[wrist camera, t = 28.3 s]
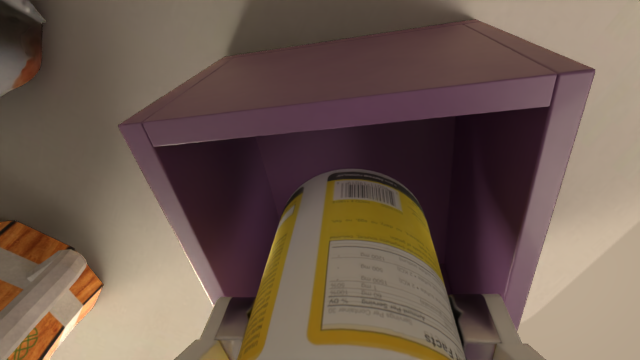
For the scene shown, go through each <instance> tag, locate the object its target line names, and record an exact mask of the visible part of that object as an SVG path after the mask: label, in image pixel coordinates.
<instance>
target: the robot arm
mask: <svg viewBox="0 0 640 360" xmlns="http://www.w3.org/2000/svg"><path fill="white" fill-rule="evenodd" d="M448 298H449V302H450V305H451V309H452V312H453V316H454V319H455V323H456V326H457V330H458V333H459V337H460V340H461V344H462V347H463V351H464V355H465V358H466V360H546V359H545V358H543V357H542V356H541V355H540V354H539V353H538V352H536V351H535V350H534V349H533V348H532V347H531V346H529V345H528V344H522V342H521V340H520V337H519V335H518V333H517V331H516V328H515V326H514V324H513V322H512V319H511V317H510V315H509V313H508V310H507V308H506V306H505V304H504V301H503V299H502V297H501V296H500V295H499V294H450V295H449V296H448ZM255 299H256V297H220V298H219V299H218V300H217V301H216V303H215V305H214V308H213V310H212V312H211V314H210V317H209V319H208V321H207V324H206V326H205V328H204V331H203V333H202V335H201V337H200V340H195V341H194V342H193V343H192V344H191V345H189V346H188V347H187V348H186V349H185V350H184V351H183V352H182V353H181V354H180V355H179V356H178V357H176V358H175V359H174V360H237V358H238V355H239V352H240V349H241V345H242V342H243V339H244V336H245V332H246V329H247V326H248V322H249V319H250V316H251V313H252V309H253V306H254V303H255Z"/></svg>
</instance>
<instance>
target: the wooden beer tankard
mask: <svg viewBox="0 0 640 360" xmlns="http://www.w3.org/2000/svg"><path fill="white" fill-rule="evenodd" d="M102 287H103V283H102V282H101V281H100V280H99V278H98V277H97V276H96V275H95V274H94V272H93V271H92V270H91V269H90V267H89V266H88V265H87V261H86V260H85V258H84V257H83V256H82V255H81V254H80V253H78V252H77V251H76V250H75V249H74V248H73V247H71V246H69V245H66V244H64V243H62V242H60V241H58V240H56V239H54V238H51V237H49V236H47V235H45V234H43V233H41V232H39V231H36V230H34V229H32V228H30V227H28V226H26V225H24V224H21V223H19V222H17V221H4V222H0V360H49V359H50V358H51V357H52V355H53V354H54V352H55V351H56V349H57V348H58V347H59V345H60V344H61V343H62V342H63V340H64V339H65V338H66V337H67V335H68V334H69V333H70V332H71V330H72V329H73V328H74V327H75V326H76V325H77V324H78V323H79V322H80V321H81V320H82V319H83V318H84V317H85V316H86V315H87V314H88V313H89V311H90V310H91V309H92V308H93V307H94V305H95V302H96V300H97V298H98V296H99V294H100V292H101V289H102Z"/></svg>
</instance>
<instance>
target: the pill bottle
mask: <svg viewBox="0 0 640 360" xmlns="http://www.w3.org/2000/svg"><path fill="white" fill-rule="evenodd" d="M237 360H466V358H465V355H464V351H463V347H462V344H461V340H460V337H459V333H458V330H457V326H456V323H455V319H454V316H453V312H452V309H451V305H450V302H449V298H448V295H447V291H446V288H445V284H444V281H443V277H442V273H441V270H440V266H439V263H438V259H437V256H436V252H435V249H434V246H433V242H432V239H431V235H430V231H429V228H428V224H427V221H426V218H425V215H424V212H423V210H422V207H421V206H420V204H419V202H418V201H417V199H416V198H415V196H414V195H413V194H412V193H411V192H410V191H409V190H408V189H407V188H406V187H405V186H404V185H402V184H401V183H399V182H398V181H396V180H395V179H393V178H391V177H389V176H386V175H384V174H381V173H378V172H374V171H370V170H364V169H339V170H333V171H329V172H326V173H323V174H320V175H318V176H315V177H313V178H312V179H310V180H308V181H307V182H305V183H304V184H302V185H301V186H300V187H299V188H298V189H297V190H296V191H295V192H294V193H293V194H292V196H291V197H290V198H289V200H288V202H287V204H286V206H285V208H284V210H283V213H282V216H281V218H280V222H279V225H278V228H277V232H276V235H275V238H274V241H273V244H272V248H271V251H270V254H269V257H268V260H267V263H266V267H265V270H264V273H263V276H262V280H261V283H260V286H259V289H258V293H257V296H256V299H255V303H254V306H253V309H252V313H251V316H250V319H249V322H248V326H247V329H246V332H245V336H244V339H243V342H242V345H241V349H240V352H239V355H238V358H237Z"/></svg>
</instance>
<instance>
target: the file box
mask: <svg viewBox="0 0 640 360" xmlns="http://www.w3.org/2000/svg"><path fill="white" fill-rule="evenodd" d="M594 74H595V69H593V68H591V67H588V66H586V65H584V64H581V63H579V62H576V61H574V60H572V59H569V58H567V57H565V56H562V55H560V54H557V53H555V52H553V51H550V50H548V49H545V48H543V47H541V46H538V45H536V44H534V43H531V42H529V41H526V40H524V39H522V38H519V37H517V36H515V35H512V34H510V33H507V32H505V31H503V30H500V29H498V28H495V27H493V26H491V25H488V24H486V23H484V22H481V21H479V20H476V19H474V20H467V21H460V22H453V23H447V24H440V25H433V26H427V27H420V28H413V29H406V30H400V31H393V32H386V33H380V34H373V35H366V36H359V37H353V38H346V39H339V40H333V41H326V42H319V43H313V44H306V45H299V46H292V47H286V48H279V49H272V50H266V51H259V52H252V53H245V54H239V55H232V56H225V57H223V58H222V59H220V60H218V61H217V62H215V63H214V64H212V65H211V66H209V67H207V68H206V69H204V70H203V71H201V72H200V73H198V74H197V75H195V76H193V77H192V78H190V79H189V80H187V81H186V82H184V83H183V84H181V85H180V86H178V87H176V88H175V89H173V90H172V91H170V92H169V93H167V94H166V95H164V96H162V97H161V98H159V99H158V100H156V101H155V102H153V103H152V104H150V105H149V106H147V107H145V108H144V109H142V110H141V111H139V112H138V113H136V114H135V115H133V116H131V117H130V118H128V119H127V120H125V121H124V122H122V123H121V124H119V125H118V127H119V129H120V131H121V133H122V135H123V137H124V139H125V141H126V142H127V144H128V146H129V148H130V150H131V152H132V154H133V156H134V158H135V159H136V161H137V163H138V165H139V167H140V169H141V171H142V173H143V174H144V176H145V178H146V180H147V182H148V184H149V186H150V188H151V190H152V191H153V193H154V195H155V197H156V199H157V201H158V203H159V205H160V207H161V208H162V210H163V212H164V214H165V216H166V218H167V220H168V222H169V223H170V225H171V227H172V229H173V231H174V233H175V235H176V237H177V239H178V240H179V242H180V244H181V246H182V248H183V250H184V252H185V254H186V256H187V257H188V259H189V261H190V263H191V265H192V267H193V269H194V271H195V272H196V274H197V276H198V278H199V280H200V282H201V284H202V286H203V288H204V289H205V291H206V293H207V295H208V297H209V299H210V301H211V303H212V304H213V306H214V305H215V303H216V301H217V300H218V299H219V298H220V297H256V296H257V293H258V289H259V286H260V283H261V280H262V276H263V273H264V270H265V267H266V263H267V260H268V257H269V254H270V251H271V248H272V244H273V241H274V238H275V235H276V232H277V228H278V225H279V222H280V218H281V216H282V213H283V210H284V208H285V206H286V204H287V202H288V200H289V198H290V197H291V196H292V194H293V193H294V192H295V191H296V190H297V189H298V188H299V187H300V186H301V185H302V184H304V183H305V182H307V181H308V180H310V179H312V178H313V177H315V176H318V175H320V174H323V173H326V172H329V171H333V170H339V169H364V170H370V171H374V172H378V173H381V174H384V175H386V176H389V177H391V178H393V179H395V180H396V181H398V182H399V183H401V184H402V185H404V186H405V187H406V188H407V189H408V190H409V191H410V192H411V193H412V194H413V195H414V196H415V198H416V199H417V201H418V202H419V204H420V206H421V207H422V210H423V212H424V215H425V218H426V221H427V224H428V228H429V231H430V235H431V239H432V242H433V246H434V249H435V252H436V256H437V259H438V263H439V266H440V270H441V273H442V277H443V281H444V284H445V288H446V291H447V295H448V296H449V295H450V294H499V295H500V296H501V297H502V299H503V301H504V304H505V306H506V308H507V310H508V313H509V315H510V317H511V319H512V322H513V324H514V326H515V328H516V331H517V330H518V327H519V324H520V320H521V317H522V314H523V310H524V307H525V304H526V300H527V297H528V294H529V290H530V287H531V284H532V280H533V277H534V274H535V270H536V267H537V264H538V261H539V257H540V254H541V251H542V247H543V244H544V241H545V237H546V234H547V231H548V227H549V224H550V221H551V217H552V214H553V211H554V207H555V204H556V201H557V197H558V194H559V191H560V187H561V184H562V181H563V177H564V174H565V171H566V167H567V164H568V161H569V158H570V154H571V151H572V148H573V144H574V141H575V138H576V134H577V131H578V128H579V124H580V121H581V118H582V114H583V111H584V108H585V104H586V101H587V98H588V94H589V91H590V88H591V84H592V81H593V78H594Z"/></svg>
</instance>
